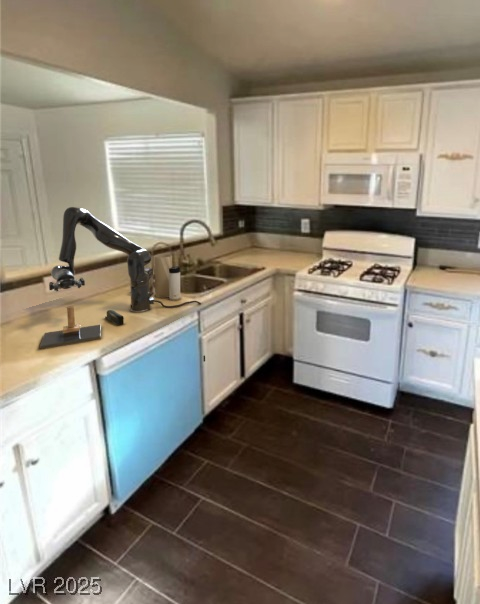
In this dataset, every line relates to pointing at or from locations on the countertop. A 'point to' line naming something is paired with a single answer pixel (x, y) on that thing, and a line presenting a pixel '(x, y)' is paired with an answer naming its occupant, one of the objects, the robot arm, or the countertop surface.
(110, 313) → the dark green rounded bar
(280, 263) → the countertop surface
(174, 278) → the travel mug
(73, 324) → the brush
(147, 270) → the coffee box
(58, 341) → the slate board
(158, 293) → the tall beige box
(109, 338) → the countertop surface
